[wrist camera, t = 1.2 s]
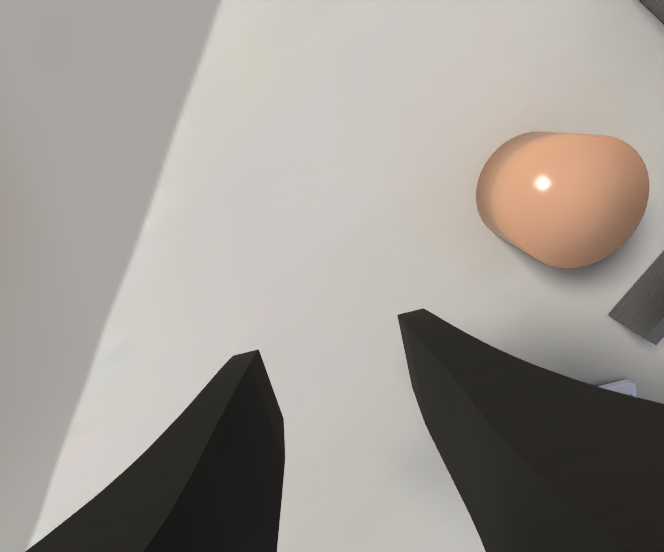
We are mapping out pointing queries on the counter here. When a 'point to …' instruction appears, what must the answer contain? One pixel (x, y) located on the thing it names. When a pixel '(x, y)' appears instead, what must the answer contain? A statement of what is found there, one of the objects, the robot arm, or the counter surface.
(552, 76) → the counter surface
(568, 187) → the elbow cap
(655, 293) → the gray zigzag divider
